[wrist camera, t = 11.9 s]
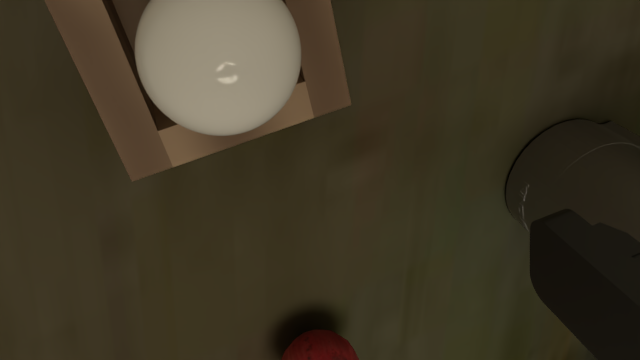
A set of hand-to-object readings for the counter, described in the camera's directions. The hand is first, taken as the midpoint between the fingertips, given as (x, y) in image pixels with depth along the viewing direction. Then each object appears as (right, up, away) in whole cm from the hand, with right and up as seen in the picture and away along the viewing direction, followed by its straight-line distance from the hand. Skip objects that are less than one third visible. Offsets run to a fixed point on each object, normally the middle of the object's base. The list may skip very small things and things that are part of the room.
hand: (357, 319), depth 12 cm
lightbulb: (-7, +12, +17) cm, 22 cm away
